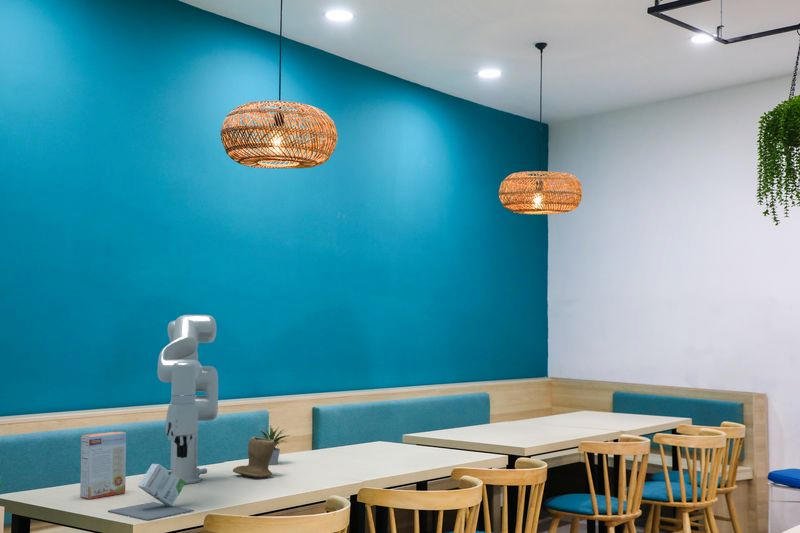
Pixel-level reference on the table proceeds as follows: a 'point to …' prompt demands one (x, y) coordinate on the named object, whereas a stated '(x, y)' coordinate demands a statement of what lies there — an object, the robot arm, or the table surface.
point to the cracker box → (103, 464)
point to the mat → (150, 511)
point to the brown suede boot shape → (257, 458)
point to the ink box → (162, 484)
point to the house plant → (276, 450)
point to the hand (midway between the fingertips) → (182, 457)
